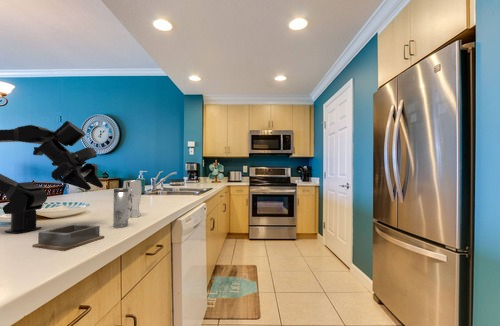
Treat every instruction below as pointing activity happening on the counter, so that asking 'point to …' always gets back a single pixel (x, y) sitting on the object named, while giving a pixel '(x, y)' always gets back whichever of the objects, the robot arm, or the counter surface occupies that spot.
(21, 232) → the robot arm
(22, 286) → the counter surface
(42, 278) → the counter surface
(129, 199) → the beer glass
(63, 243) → the socket
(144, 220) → the counter surface
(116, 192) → the brushed metal canister
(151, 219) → the counter surface
